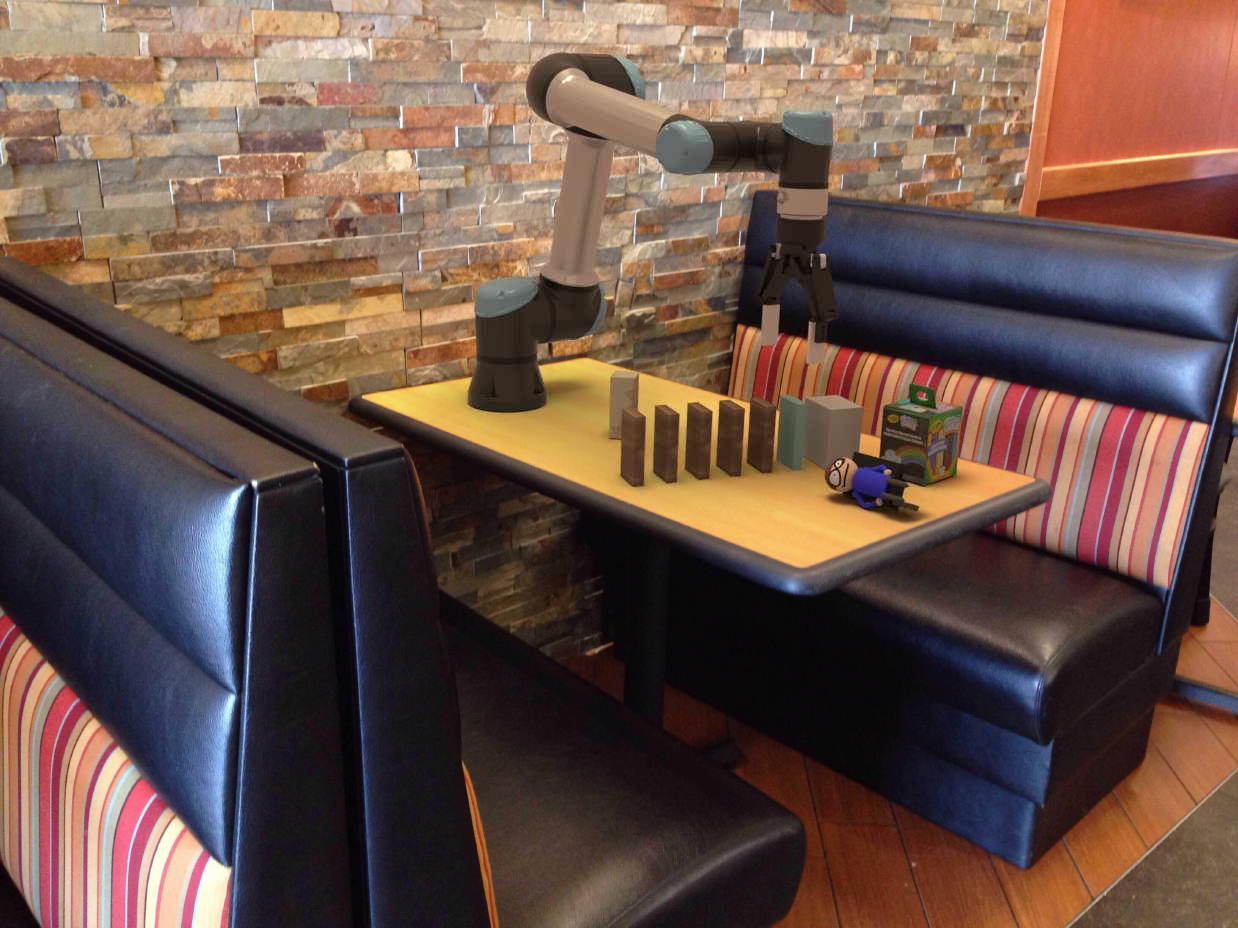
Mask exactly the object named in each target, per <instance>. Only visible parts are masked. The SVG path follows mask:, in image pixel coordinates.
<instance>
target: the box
mask: <svg viewBox="0 0 1238 928" xmlns="http://www.w3.org/2000/svg"><path fill="white" fill-rule="evenodd" d="M609 381H610V382H609V385H610V386H609V419H608V420H609V425H608V426H609V428H608V431H609V432H608V438H609V439H619V440H621V425H622V408H627V407H633V408H635V409H636V410H638V411H639V389H640V388H639V386H640V372H638V371H628V370H627V371H626V370H625V371H624V370H616V371H614V373H612V374H611V376H610V380H609Z"/></svg>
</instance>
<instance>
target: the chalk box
mask: <svg viewBox="0 0 1238 928" xmlns="http://www.w3.org/2000/svg"><path fill="white" fill-rule="evenodd" d="M908 392H909V398H901V399H898V400H895V401H894V402H891V403H886V404H884V405H883V406H882V420H881V430H880V432H881V433H880V441H879V454H878V458H881V459H885V460H889V461H893V462H896V463H900V464H904V465H908V466H911V468H910V472H909V475H910V476H914V477H918V478H921V479H925V480H926V481H925V484H920V483H917V482H913V481H909V480H907V482H908V483H913V484H915V485H918V486H920V487H925V486H928V485H930V484H934V483H936V482H938V481H941V480H945V479H947V478H949V477H952V476H955V475H957V470H958V460H959V451H960V440H961V438H960V437H961V430H962V428H961V427H962V420H963V411H964V409H963V408H964V407H963V406H962V405H958V404H954V403H950V402H947V401H945V402H944V401H942V400H940V401H939V400H936V391H935V388H933V387H929V386H927V385H926V386H925V385H921V384H916V383H912V382H911V383H909V384H908ZM919 392H922V393H924V394H925V395H926V396H927V398H926V397H922V396H918V393H919Z"/></svg>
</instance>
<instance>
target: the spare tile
mask: <svg viewBox="0 0 1238 928" xmlns="http://www.w3.org/2000/svg"><path fill="white" fill-rule="evenodd" d="M806 413H807V403H805V401H804V400H800V399H799V398H797V397H795V396H793V395H791V394H785V395H780V397H779V411H778V425H777V437H776V439H777V442H776V455H775V457H776V458H775V461H777V462H778V463H779V464H780V465H783V466H785V467H786V468H787V469H789V470H790V471H792V472H793V471H799V470H803V463H804V456H803V452H804V439H805V426H806Z"/></svg>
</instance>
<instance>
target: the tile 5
mask: <svg viewBox="0 0 1238 928" xmlns="http://www.w3.org/2000/svg"><path fill="white" fill-rule="evenodd" d="M748 415H749V416H748V417H749V418H748V432H747V434H748V435H747V448H746V450H747V451H746V464H747V465H748V466H750V467H752V469H755V470H756V471H758V472H759V473H761V474H764V475H765V474H771V473H773V466H774V453H775V450H774V449H775V438H776V435H775V434H776V422H777V421H776V420H777V405H775V404H774V403H772V402H770V401H768V400H766V399H764V397H763V398H762V397H761V396H760V397H750V400H749V414H748Z"/></svg>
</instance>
